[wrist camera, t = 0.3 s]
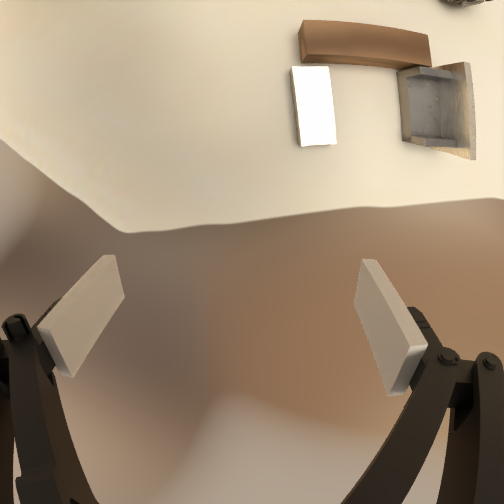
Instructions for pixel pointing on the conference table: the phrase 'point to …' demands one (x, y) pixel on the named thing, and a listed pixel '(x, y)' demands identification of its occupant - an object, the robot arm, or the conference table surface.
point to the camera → (469, 2)
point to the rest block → (313, 105)
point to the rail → (362, 45)
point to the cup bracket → (439, 108)
